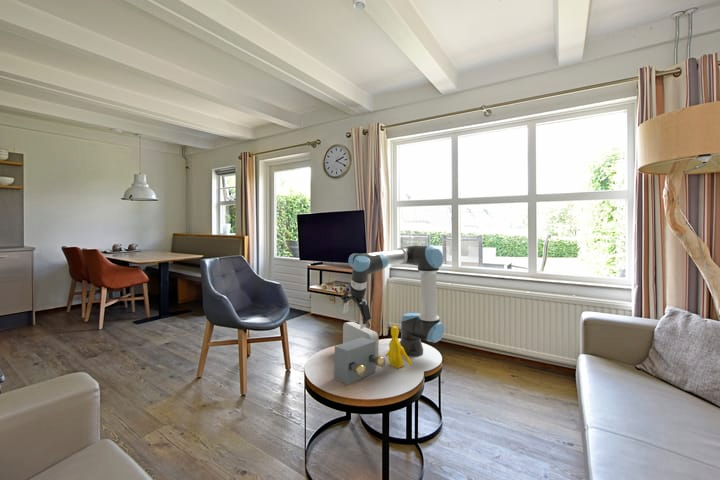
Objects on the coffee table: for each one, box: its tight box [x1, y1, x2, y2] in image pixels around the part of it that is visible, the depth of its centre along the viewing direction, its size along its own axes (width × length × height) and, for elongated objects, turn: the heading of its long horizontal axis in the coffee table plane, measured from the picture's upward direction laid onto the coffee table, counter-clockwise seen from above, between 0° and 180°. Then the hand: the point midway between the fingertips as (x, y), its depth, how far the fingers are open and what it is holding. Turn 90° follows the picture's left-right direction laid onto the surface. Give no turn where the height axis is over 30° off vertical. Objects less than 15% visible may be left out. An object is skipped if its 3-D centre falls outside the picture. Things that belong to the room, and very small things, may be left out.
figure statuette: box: [385, 325, 413, 369], centre depth 174 cm, size 18×8×22 cm, turn 46°
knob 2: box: [369, 355, 386, 368], centre depth 162 cm, size 4×9×4 cm, turn 46°
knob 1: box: [349, 362, 366, 376], centre depth 152 cm, size 4×9×4 cm, turn 46°
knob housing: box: [333, 337, 376, 386], centre depth 162 cm, size 20×9×16 cm, turn 136°
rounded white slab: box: [342, 321, 380, 366], centre depth 184 cm, size 29×8×18 cm, turn 33°
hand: (353, 319), depth 165 cm, fingers open, 13 cm apart
